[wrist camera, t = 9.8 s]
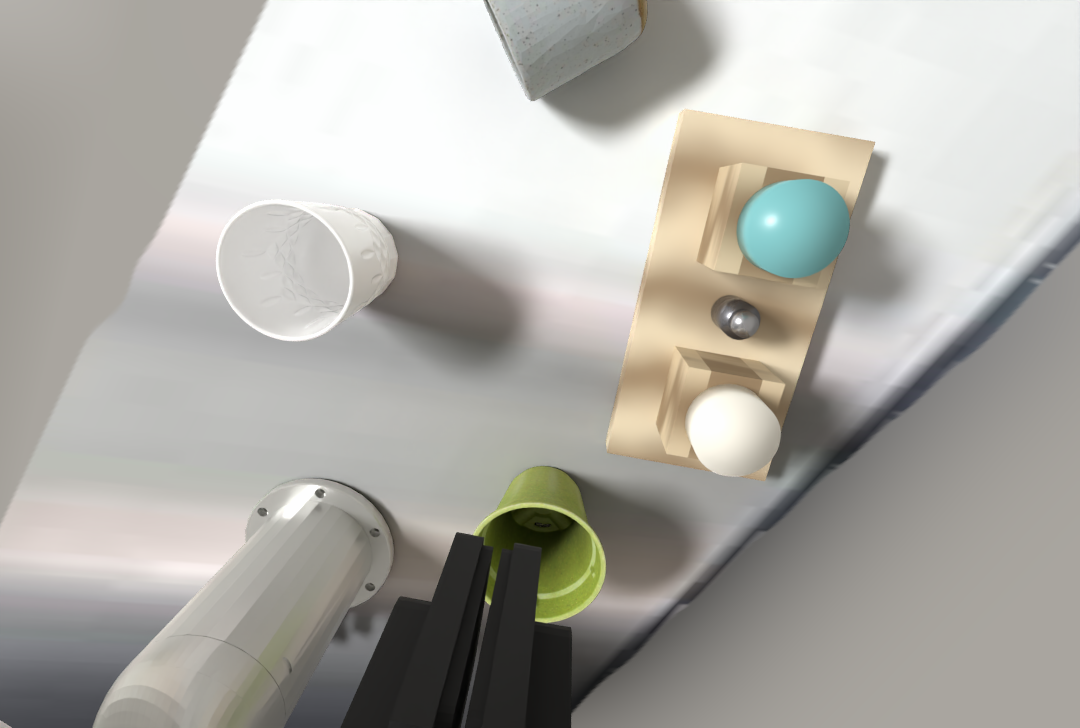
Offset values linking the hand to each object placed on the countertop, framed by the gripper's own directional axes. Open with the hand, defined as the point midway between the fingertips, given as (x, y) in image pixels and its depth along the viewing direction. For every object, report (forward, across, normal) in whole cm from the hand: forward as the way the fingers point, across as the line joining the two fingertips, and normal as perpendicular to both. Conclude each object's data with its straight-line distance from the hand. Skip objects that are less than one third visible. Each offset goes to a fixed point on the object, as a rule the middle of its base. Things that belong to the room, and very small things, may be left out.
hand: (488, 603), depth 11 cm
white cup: (+31, +15, -1) cm, 35 cm away
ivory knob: (+29, -12, +4) cm, 31 cm away
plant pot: (+31, -2, +16) cm, 35 cm away
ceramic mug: (+31, +4, -19) cm, 37 cm away
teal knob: (+29, -12, -8) cm, 32 cm away
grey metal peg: (+29, -12, -2) cm, 32 cm away
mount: (+31, -12, -2) cm, 33 cm away
